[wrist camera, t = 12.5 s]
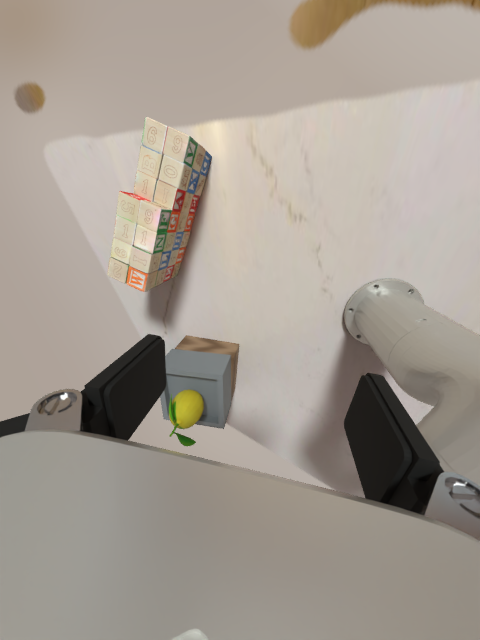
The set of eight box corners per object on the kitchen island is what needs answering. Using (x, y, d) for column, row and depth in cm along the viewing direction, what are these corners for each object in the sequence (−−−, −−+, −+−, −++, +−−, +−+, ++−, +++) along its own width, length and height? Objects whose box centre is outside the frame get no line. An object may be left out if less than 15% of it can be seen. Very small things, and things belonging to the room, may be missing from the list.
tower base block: (239, 343, 49) (233, 358, 43) (235, 387, 54) (229, 405, 48) (186, 334, 50) (175, 348, 45) (187, 378, 55) (176, 395, 50)
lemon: (208, 413, 43) (188, 459, 33) (178, 405, 43) (151, 448, 34) (213, 383, 41) (193, 424, 31) (182, 375, 41) (154, 413, 32)
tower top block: (230, 355, 43) (222, 375, 37) (231, 403, 48) (223, 428, 42) (172, 348, 45) (155, 367, 39) (177, 396, 50) (163, 419, 44)
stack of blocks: (177, 140, 36) (130, 102, 25) (213, 156, 36) (181, 125, 25) (149, 263, 45) (105, 276, 34) (177, 276, 45) (143, 293, 34)
